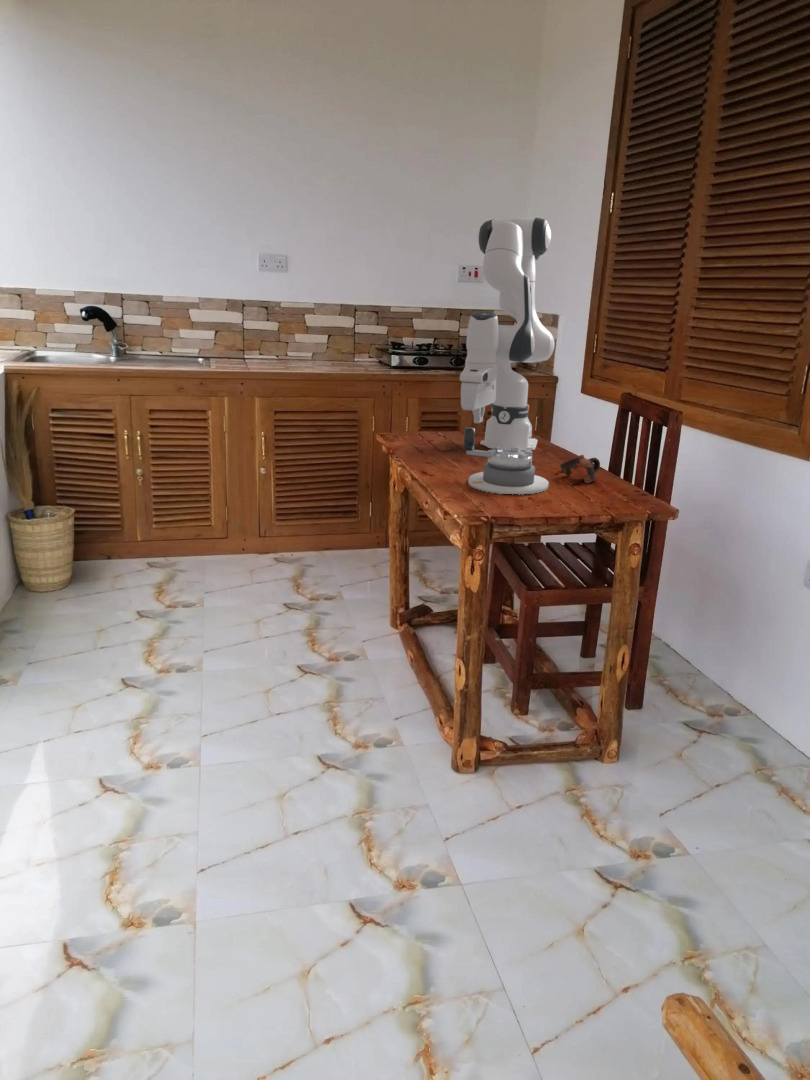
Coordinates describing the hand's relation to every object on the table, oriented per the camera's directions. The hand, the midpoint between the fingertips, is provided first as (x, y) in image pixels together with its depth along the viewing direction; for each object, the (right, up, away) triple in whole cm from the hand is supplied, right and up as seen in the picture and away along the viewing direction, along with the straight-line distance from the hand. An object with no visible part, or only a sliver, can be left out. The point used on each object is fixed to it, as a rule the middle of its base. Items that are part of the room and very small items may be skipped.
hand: (478, 422), depth 228 cm
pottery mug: (+30, -16, +3) cm, 34 cm away
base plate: (+8, -18, -5) cm, 20 cm away
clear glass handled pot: (+4, -12, -6) cm, 14 cm away
